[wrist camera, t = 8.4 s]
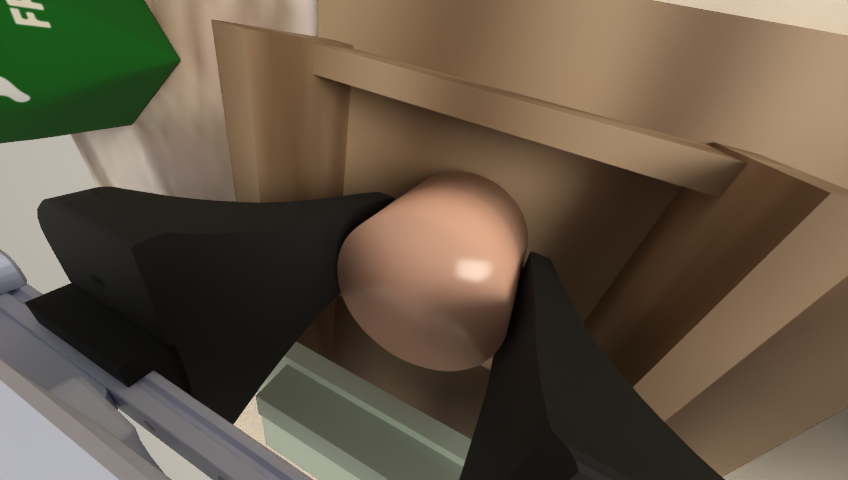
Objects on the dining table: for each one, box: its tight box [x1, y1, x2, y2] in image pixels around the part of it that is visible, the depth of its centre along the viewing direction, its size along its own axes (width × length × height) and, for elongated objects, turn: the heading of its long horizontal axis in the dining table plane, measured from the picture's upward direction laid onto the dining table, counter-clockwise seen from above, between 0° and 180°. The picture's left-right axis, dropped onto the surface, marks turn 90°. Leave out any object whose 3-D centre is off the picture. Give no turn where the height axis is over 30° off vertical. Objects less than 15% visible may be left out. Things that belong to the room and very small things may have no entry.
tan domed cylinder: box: [337, 171, 528, 371], centre depth 10 cm, size 5×5×4 cm
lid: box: [256, 342, 471, 480], centre depth 12 cm, size 12×9×2 cm
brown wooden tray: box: [211, 0, 848, 477], centre depth 12 cm, size 20×25×5 cm
